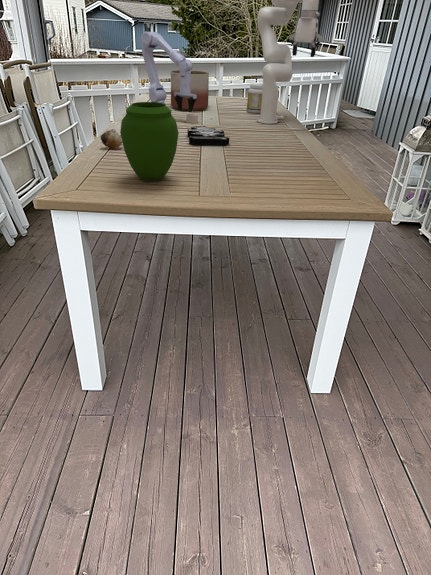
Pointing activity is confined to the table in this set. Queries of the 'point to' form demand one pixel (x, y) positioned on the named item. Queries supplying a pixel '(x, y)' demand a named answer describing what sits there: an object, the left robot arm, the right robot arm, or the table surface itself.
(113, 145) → the seashell
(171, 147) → the vase
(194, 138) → the sign
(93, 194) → the table surface
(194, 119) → the grey square block
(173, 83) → the planter
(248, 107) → the supplement tub
